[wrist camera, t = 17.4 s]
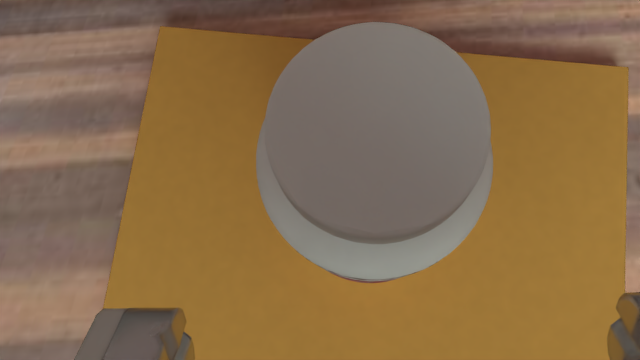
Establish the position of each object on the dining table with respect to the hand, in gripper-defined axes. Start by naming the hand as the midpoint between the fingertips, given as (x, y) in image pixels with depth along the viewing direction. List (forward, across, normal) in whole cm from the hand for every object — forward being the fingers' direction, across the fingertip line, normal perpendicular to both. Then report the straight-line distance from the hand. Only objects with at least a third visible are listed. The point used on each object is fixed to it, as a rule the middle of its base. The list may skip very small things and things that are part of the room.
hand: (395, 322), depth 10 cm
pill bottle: (+11, 0, +5) cm, 12 cm away
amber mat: (+11, 0, +5) cm, 12 cm away
